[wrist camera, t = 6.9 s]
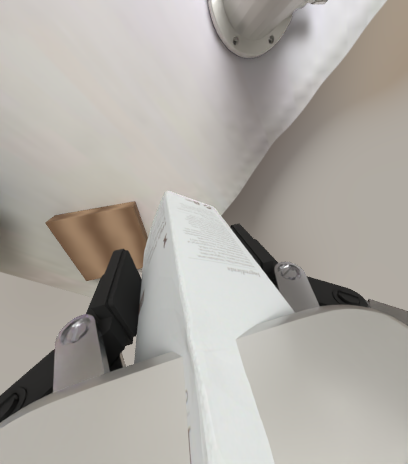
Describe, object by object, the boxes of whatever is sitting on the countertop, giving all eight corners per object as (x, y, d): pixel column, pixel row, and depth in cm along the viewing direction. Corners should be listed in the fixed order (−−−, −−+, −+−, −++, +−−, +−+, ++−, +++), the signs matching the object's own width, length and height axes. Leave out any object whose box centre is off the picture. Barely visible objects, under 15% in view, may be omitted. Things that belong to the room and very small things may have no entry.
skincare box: (163, 187, 11) (201, 600, 1) (217, 206, 13) (415, 440, 3) (142, 255, 14) (95, 585, 4) (190, 263, 16) (249, 502, 5)
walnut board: (135, 201, 31) (133, 206, 28) (154, 256, 38) (154, 265, 36) (55, 215, 29) (45, 222, 26) (91, 271, 36) (86, 281, 34)
